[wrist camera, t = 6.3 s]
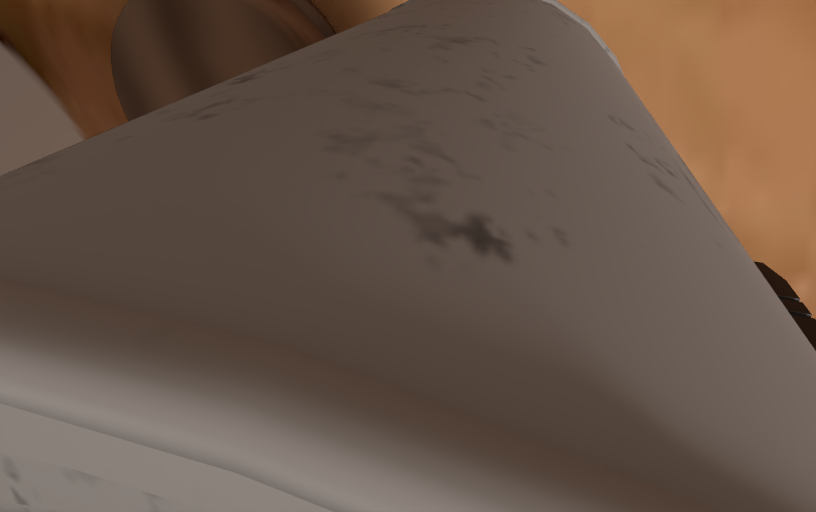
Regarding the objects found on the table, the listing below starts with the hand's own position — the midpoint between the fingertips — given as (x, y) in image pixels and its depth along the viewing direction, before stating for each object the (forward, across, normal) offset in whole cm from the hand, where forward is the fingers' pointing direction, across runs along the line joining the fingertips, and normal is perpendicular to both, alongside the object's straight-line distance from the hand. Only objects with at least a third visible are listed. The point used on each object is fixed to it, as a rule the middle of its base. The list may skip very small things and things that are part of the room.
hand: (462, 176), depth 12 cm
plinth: (+15, +16, +3) cm, 23 cm away
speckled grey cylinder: (+1, 0, 0) cm, 1 cm away
